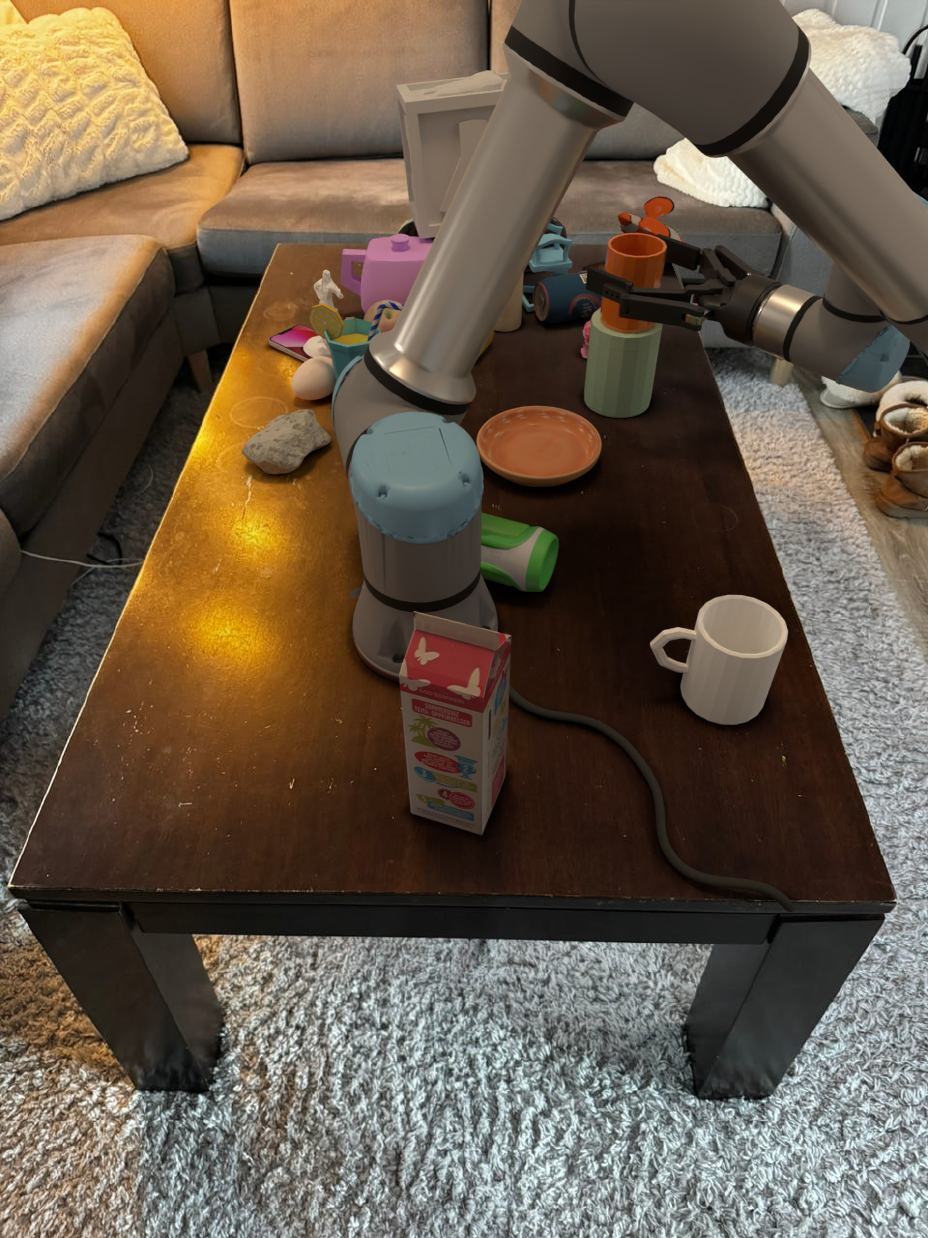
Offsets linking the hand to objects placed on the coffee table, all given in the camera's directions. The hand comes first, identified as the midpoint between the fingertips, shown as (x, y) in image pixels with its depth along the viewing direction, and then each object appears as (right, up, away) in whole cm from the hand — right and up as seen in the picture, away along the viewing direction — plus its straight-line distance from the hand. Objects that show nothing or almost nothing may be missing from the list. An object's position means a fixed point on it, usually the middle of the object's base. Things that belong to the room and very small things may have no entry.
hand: (622, 260), depth 114 cm
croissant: (+6, +15, +36) cm, 39 cm away
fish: (+15, +17, +35) cm, 42 cm away
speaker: (-20, -38, -18) cm, 47 cm away
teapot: (-29, +3, +31) cm, 43 cm away
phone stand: (-7, +7, +35) cm, 36 cm away
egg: (-38, -9, +14) cm, 42 cm away
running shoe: (-17, +18, +38) cm, 45 cm away
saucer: (-11, -25, +3) cm, 27 cm away
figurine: (-41, -5, +21) cm, 46 cm away
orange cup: (+1, -6, +5) cm, 8 cm away
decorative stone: (-43, -24, +4) cm, 50 cm away
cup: (-34, -15, +13) cm, 40 cm away
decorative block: (-19, +20, +32) cm, 42 cm away
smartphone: (-37, -8, +19) cm, 42 cm away
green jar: (+1, -15, +13) cm, 20 cm away
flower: (+2, -5, +23) cm, 23 cm away
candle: (-14, +1, +29) cm, 32 cm away
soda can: (+3, +7, +30) cm, 31 cm away
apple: (-31, -4, +24) cm, 39 cm away
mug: (+3, -53, -25) cm, 59 cm away
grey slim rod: (-38, +1, +29) cm, 48 cm away
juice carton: (-21, -61, -33) cm, 73 cm away
